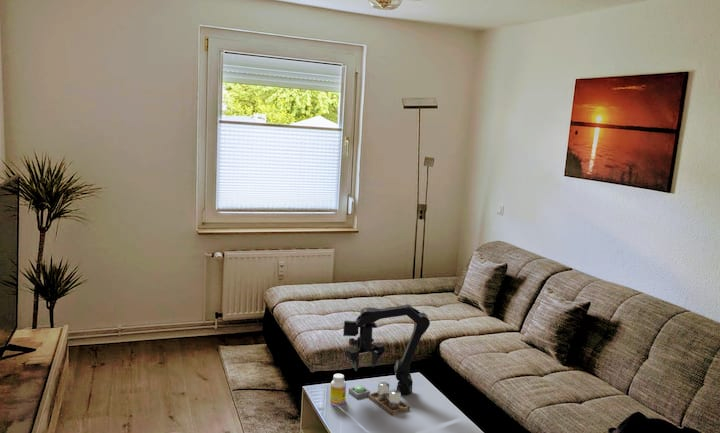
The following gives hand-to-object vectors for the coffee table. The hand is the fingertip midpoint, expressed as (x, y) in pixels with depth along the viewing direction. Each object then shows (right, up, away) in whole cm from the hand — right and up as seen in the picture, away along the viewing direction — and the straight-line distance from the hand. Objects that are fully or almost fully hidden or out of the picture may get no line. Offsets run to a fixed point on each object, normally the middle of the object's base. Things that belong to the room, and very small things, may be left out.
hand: (364, 368), depth 257 cm
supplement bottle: (-12, -13, -8) cm, 19 cm away
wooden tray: (+10, -14, -9) cm, 19 cm away
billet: (+8, -12, -5) cm, 15 cm away
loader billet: (+13, -13, -13) cm, 22 cm away
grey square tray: (-2, -12, -1) cm, 12 cm away
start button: (-2, -11, -1) cm, 12 cm away
